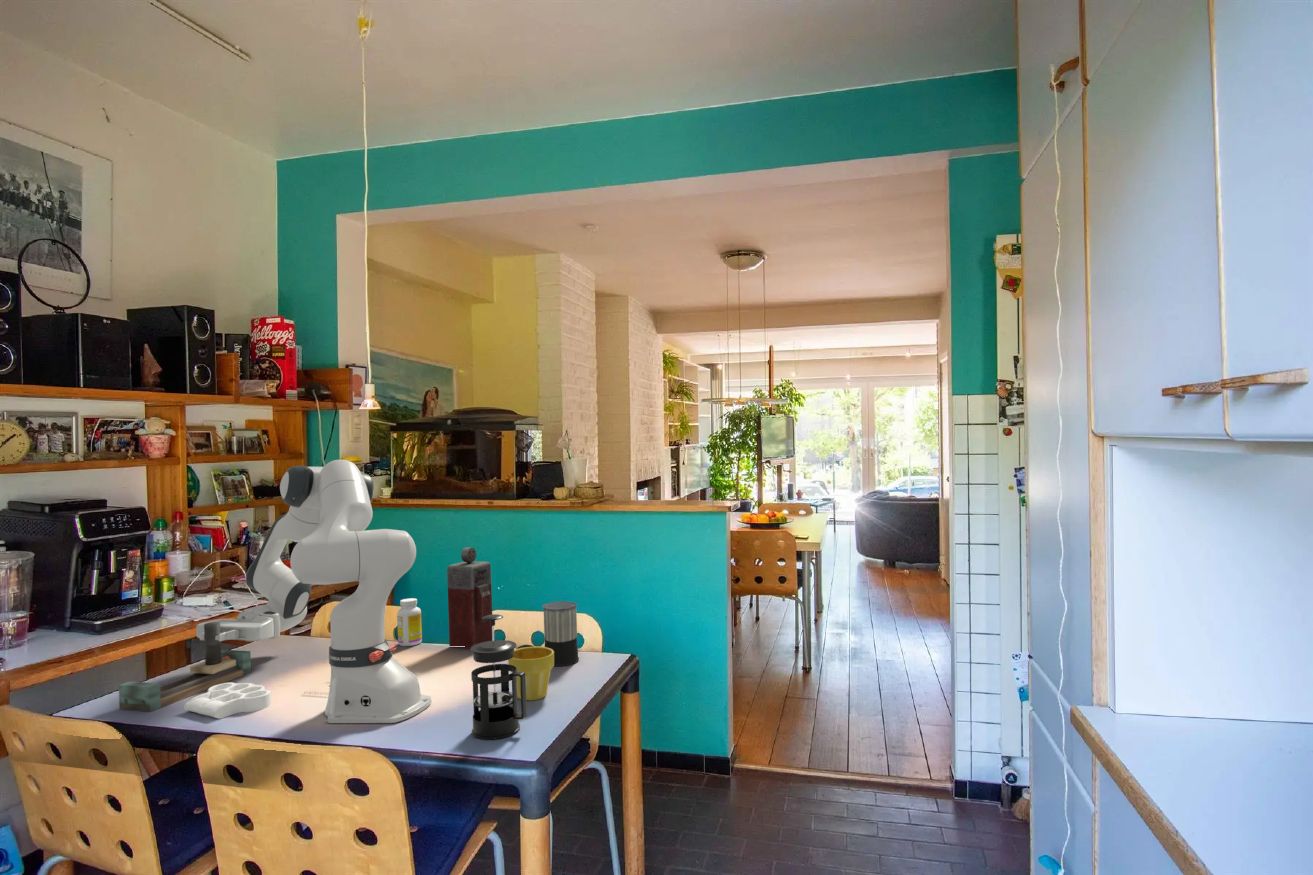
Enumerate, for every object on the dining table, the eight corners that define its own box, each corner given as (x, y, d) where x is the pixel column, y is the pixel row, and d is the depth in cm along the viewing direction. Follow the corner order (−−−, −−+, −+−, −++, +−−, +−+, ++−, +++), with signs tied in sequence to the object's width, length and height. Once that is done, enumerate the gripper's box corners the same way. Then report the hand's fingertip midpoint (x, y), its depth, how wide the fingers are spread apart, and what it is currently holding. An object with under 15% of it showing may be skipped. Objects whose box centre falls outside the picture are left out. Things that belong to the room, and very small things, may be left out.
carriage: (236, 665, 186) (234, 620, 186) (212, 674, 179) (211, 627, 179) (214, 664, 187) (213, 619, 188) (190, 672, 181) (189, 626, 181)
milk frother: (585, 662, 188) (583, 605, 188) (528, 674, 180) (527, 614, 180) (561, 650, 200) (560, 596, 200) (507, 660, 191) (505, 605, 192)
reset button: (232, 665, 187) (232, 655, 187) (229, 667, 186) (228, 657, 186) (224, 665, 188) (224, 655, 188) (221, 666, 187) (220, 656, 187)
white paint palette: (176, 712, 162) (240, 691, 175) (224, 724, 154) (287, 701, 167) (175, 697, 162) (239, 677, 175) (223, 708, 154) (287, 687, 167)
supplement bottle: (425, 640, 215) (424, 597, 215) (416, 646, 208) (414, 602, 208) (404, 640, 215) (402, 597, 215) (394, 646, 209) (392, 602, 209)
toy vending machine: (481, 650, 202) (478, 550, 202) (448, 647, 206) (445, 549, 207) (500, 642, 210) (497, 545, 210) (468, 639, 215) (465, 544, 215)
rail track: (251, 672, 189) (250, 651, 189) (150, 711, 162) (149, 687, 162) (223, 670, 191) (222, 649, 191) (119, 709, 164) (118, 684, 164)
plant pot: (564, 694, 164) (563, 651, 164) (526, 707, 157) (524, 662, 157) (538, 684, 172) (536, 643, 172) (500, 696, 164) (499, 653, 164)
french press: (459, 737, 141) (456, 620, 142) (483, 719, 151) (480, 609, 151) (514, 742, 138) (510, 622, 139) (535, 723, 147) (531, 610, 148)
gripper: (222, 611, 198) (176, 623, 185) (284, 613, 193) (241, 626, 180) (222, 634, 198) (177, 648, 185) (284, 637, 193) (242, 651, 180)
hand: (209, 637), depth 182 cm, fingers closed on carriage, 3 cm apart
